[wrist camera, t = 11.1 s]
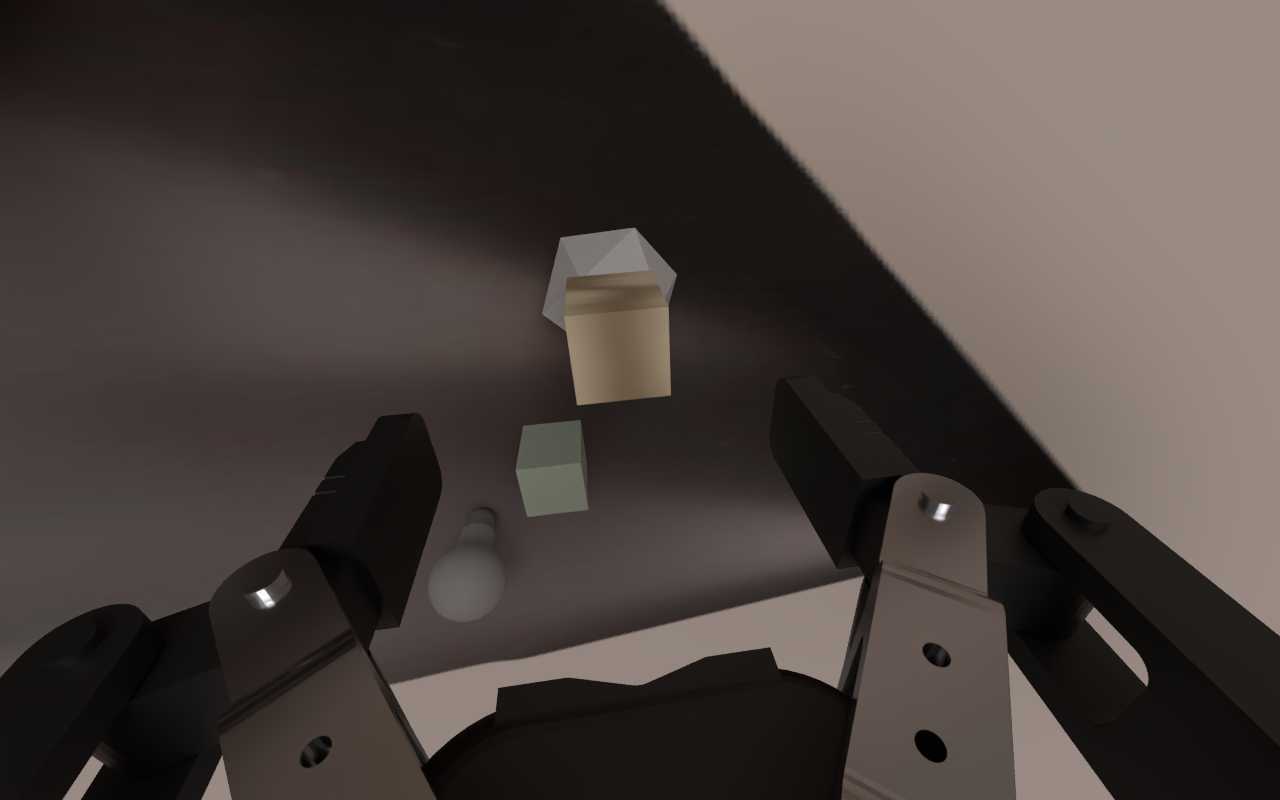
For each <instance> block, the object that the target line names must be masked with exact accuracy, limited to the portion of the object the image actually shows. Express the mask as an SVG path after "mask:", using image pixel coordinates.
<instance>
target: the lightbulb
mask: <svg viewBox="0 0 1280 800" xmlns="http://www.w3.org/2000/svg"><path fill="white" fill-rule="evenodd" d="M495 525H496V517H495V515H494V514H493V513H492V512H491V511H489V510H487V509H477V510H475V511H473V512H472V513H471V514H470V515H469V517H468V520H467V523H466V526H465V527H464V528H463V530H462V531H461V534H460V537H459V539H458V540H457V542H456V543H455V545H454V546H453V547H451V548H450V549H449V550H448V551H447V552H445V553H444V554H443V555H442V556H441V557H440V558H439V559H438V560H437V562H436V563H435V565H434V566H433V568H432V570H431V573H430V576H429V579H428V596H429V599H430V602H431V604H432V606H433V607H434V609H435V610H436V611H437V612H438V613H439V614H440V615H441V616H443V617H444V618H446V619H449V620H451V621H455V622H469V621H474V620H477V619H480V618H481V617H483V616H485V615H486V614H488V613H489V612H490V611H491V610H492V609H493V608H494V607H495V606H496V605H497V604H498V602H499V601H500V599H501V597H502V595H503V592H504V590H505V585H506V572H505V567H504V565H503V563H502V560H501V558H500V556H499V554H498V553H497V550H496V533H495Z"/></svg>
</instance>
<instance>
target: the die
mask: <svg viewBox="0 0 1280 800" xmlns="http://www.w3.org/2000/svg"><path fill="white" fill-rule="evenodd" d="M646 270H653V273H654V275H655V277H656V279H657V282H658V284H659V286H660V289H661V291H662V293H663V296H664V298H665V300H666V302H667V305H669V301H670V297H671V294H672V290H673V287H674V283H675V279H676V276H677V274H676V273H675V272H674V271H673V270H672V269H671V268H670V266H669V265H668V264H667V263H666V262H665V261H664V260H663V259H662V258H661V256H660V255H659V254H658V253H657V252H656V251H655V250H654V249H653V248H652V246H651V245H650V244H649V243H648V242H647V241H646V240H645V239H644V238H643V236H642V235H641V234H640V233H639V232H638V231H637V230H636V229H635V228H629V229H622V230H614V231H607V232H599V233H592V234H584V235H577V236H569V237H562V238H560V242H559V246H558V250H557V255H556V259H555V263H554V267H553V271H552V275H551V279H550V283H549V287H548V292H547V296H546V300H545V304H544V308H543V312H542V315H544V316H545V317H547V318H548V319H549V320H551V321H552V322H554V323H555V324H556V325H558V326H559V327H561V328H562V329H563V330H565V331H566V326H565V319H564V311H565V296H566V281H567V277H578V276H589V275H601V274H612V273H623V272H635V271H646Z"/></svg>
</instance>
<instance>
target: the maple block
mask: <svg viewBox="0 0 1280 800" xmlns="http://www.w3.org/2000/svg"><path fill="white" fill-rule="evenodd" d="M564 319H565V326H566V333H567V339H568V346H569V353H570V360H571V366H572V373H573V380H574V387H575V393H576V400H577V405H584V404H594V403H603V402H613V401H623V400H632V399H642V398H651V397H661V396H670V395H671V385H670V347H669V309H668V305H667V302H666V300H665V298H664V296H663V293H662V291H661V289H660V286H659V284H658V282H657V279H656V277H655V275H654V273H653V270H646V271H635V272H623V273H612V274H601V275H589V276H578V277H567V281H566V296H565V311H564Z"/></svg>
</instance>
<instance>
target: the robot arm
mask: <svg viewBox="0 0 1280 800" xmlns="http://www.w3.org/2000/svg"><path fill="white" fill-rule="evenodd" d="M881 431H882V430H881V429H880V428H879V427H878V426H877V425H876V424H875V423H874V422H871V419H870V418H869V417H868V415H867V414H866V413H865V412H864V411H863V410H862V409H861V408H860V407H859V406H858V405H857V404H855V403H853V402H852V401H850V400H848V399H846V398H845V397H843V396H841V395H839V394H831V393H830V392H829V391H828V390H827V389H826V388H825V387H824V385H823V384H822V383H821V382H820V381H819V380H818V379H817V378H816V377H815V376H814V375H804V376H794V377H784V378H780V379H779V380H778V381H777V384H776V388H775V396H774V403H773V411H772V418H771V426H770V446H771V451H772V454H773V457H774V459H775V461H776V462H777V464H778V466H779V468H780V469H781V471H782V473H783V475H784V476H785V478H786V480H787V482H788V483H789V485H790V487H791V489H792V490H793V492H794V494H795V496H796V497H797V499H798V501H799V503H800V504H801V506H802V508H803V510H804V511H805V513H806V515H807V517H808V518H809V520H810V522H811V524H812V525H813V527H814V529H815V531H816V532H817V534H818V536H819V538H820V539H821V541H822V543H823V545H824V546H825V548H826V550H827V552H828V553H829V555H830V557H831V559H832V560H833V562H834V564H835V566H836V567H837V569H842V568H849V567H856V566H859V567H860V569H861V570H862V572H863V574H864V575H865V576H864V579H863V582H862V585H861V589H860V593H859V598H858V603H857V607H856V612H855V616H854V620H853V625H852V629H851V634H850V638H849V643H848V647H847V652H846V657H845V661H844V665H843V669H842V673H841V676H840V680H839V683H838V687H837V689H836V688H834V687H832V686H830V685H828V684H826V683H824V682H822V681H820V680H817V679H815V678H812V677H810V676H807V675H804V674H800V673H796V672H792V671H788V670H782V669H778V667H777V665H776V662H775V659H774V656H773V654H772V651H771V648H770V647H769V648H763V649H756V650H749V651H742V652H736V653H729V654H722V655H716V656H709V657H705V658H703V659H700V660H698V661H696V662H693V663H691V664H689V665H687V666H685V667H683V668H680V669H678V670H676V671H673V672H671V673H669V674H667V675H664V676H662V677H660V678H658V679H655V680H653V681H651V682H649V683H646V684H643V685H638V686H637V685H636V686H635V685H625V684H617V683H608V682H600V681H592V680H584V679H575V678H562V679H556V680H548V681H542V682H535V683H529V684H522V685H515V686H509V687H502V688H498V696H497V705H496V712H494V713H492V714H490V715H488V716H486V717H484V718H482V719H480V720H479V721H477V722H475V723H474V724H472V725H470V726H468V727H467V728H466V729H464V730H463V731H462V732H460V733H459V734H457V735H456V736H455V737H453V738H452V739H451V740H450V741H449V742H447V743H446V744H445V745H444V746H443V747H442V748H441V749H440V750H438V751H437V752H436V753H435V754H434V755H433V756H432V757H431V758H430V759H429V758H428V756H427V754H426V753H425V751H424V749H423V747H422V746H421V744H420V742H419V740H418V738H417V737H416V735H415V733H414V731H413V729H412V728H411V726H410V724H409V722H408V720H407V718H406V716H405V714H404V713H403V711H402V709H401V707H400V705H399V703H398V701H397V699H396V697H395V696H394V694H393V692H392V690H391V688H390V686H389V684H388V682H387V680H386V678H385V677H384V675H383V673H382V671H381V669H380V667H379V665H378V663H377V662H376V660H375V658H374V656H373V654H372V652H371V651H370V649H369V646H370V643H371V641H372V638H373V635H374V632H375V630H381V629H388V628H396V627H399V626H400V623H401V620H402V617H403V614H404V610H405V607H406V604H407V601H408V598H409V594H410V591H411V588H412V585H413V582H414V578H415V575H416V572H417V569H418V566H419V562H420V559H421V556H422V553H423V550H424V547H425V543H426V540H427V537H428V534H429V531H430V527H431V524H432V521H433V518H434V515H435V511H436V508H437V505H438V502H439V499H440V495H441V489H442V477H441V471H440V467H439V464H438V461H437V458H436V455H435V452H434V449H433V446H432V443H431V440H430V437H429V434H428V431H427V428H426V425H425V422H424V420H423V418H422V416H421V415H420V414H419V413H410V414H399V415H389V416H381V417H380V418H378V420H377V421H376V423H375V425H374V427H373V428H372V430H371V432H370V433H369V435H368V437H367V439H366V440H365V441H360V442H356V443H354V444H353V445H352V446H351V447H350V448H348V449H347V450H346V451H345V452H343V453H342V454H341V455H340V456H339V457H337V458H336V460H335V461H334V463H333V464H332V466H331V468H330V469H329V471H328V472H327V474H326V475H325V480H322V482H321V483H320V485H319V487H318V488H317V490H316V491H315V493H316V495H315V496H312V498H311V499H310V501H309V502H308V504H307V506H306V507H305V509H304V510H303V512H302V513H301V515H300V517H299V518H298V520H297V521H296V523H295V525H294V526H293V528H292V529H291V531H290V533H289V534H288V536H287V537H286V539H285V540H284V542H283V544H282V545H281V547H280V548H279V550H277V551H273V552H270V553H268V554H265V555H262V556H260V557H258V558H256V559H254V560H252V561H250V562H248V563H247V564H245V565H244V566H242V567H241V568H239V569H238V570H236V571H235V572H234V573H233V574H231V575H230V576H229V577H228V578H227V579H226V580H225V581H224V582H223V583H222V584H221V585H220V586H219V588H218V589H217V590H216V592H215V593H214V595H213V597H212V599H211V601H209V602H206V603H203V604H200V605H198V606H195V607H192V608H189V609H186V610H183V611H181V612H178V613H175V614H172V615H169V616H166V617H164V618H161V619H158V620H155V621H151V620H150V619H149V618H148V617H147V616H146V615H145V614H144V613H143V612H142V611H141V610H140V609H139V608H137V607H136V606H134V605H130V604H115V605H109V606H105V607H101V608H98V609H95V610H92V611H89V612H87V613H84V614H82V615H80V616H78V617H76V618H74V619H71V620H69V621H68V622H66V623H64V624H62V625H61V626H59V627H57V628H56V629H54V630H52V631H51V632H49V633H48V634H46V635H45V636H44V637H42V638H41V639H40V640H38V641H37V642H36V643H34V644H33V645H32V646H31V647H30V648H29V649H27V650H26V651H25V652H24V653H23V654H22V655H21V656H20V657H19V658H18V659H17V660H16V661H15V662H14V663H13V665H12V666H11V667H10V668H9V669H8V670H7V671H6V672H5V673H4V674H3V675H2V677H1V678H0V800H62V799H63V797H64V796H65V795H66V793H67V792H68V790H69V789H70V787H71V786H72V784H73V783H74V781H75V780H76V778H77V777H78V775H79V774H80V772H81V771H82V769H83V768H84V766H85V765H86V763H87V762H88V760H89V759H90V757H91V756H93V757H95V758H96V759H98V760H99V761H101V762H102V763H104V764H103V766H102V767H101V769H100V771H99V772H98V774H97V775H96V777H95V778H94V780H93V782H92V783H91V785H90V786H89V788H88V789H87V791H86V793H85V794H84V796H83V797H82V799H81V800H201V799H202V797H203V795H204V793H205V790H206V788H207V786H208V784H209V782H210V780H211V778H212V775H213V773H214V771H215V769H216V767H217V765H218V763H219V760H220V759H221V756H222V755H223V760H224V764H225V770H226V774H227V779H228V784H229V788H230V793H231V798H232V800H1016V788H1015V770H1014V754H1013V736H1012V720H1011V702H1010V685H1009V668H1008V653H1009V655H1010V656H1011V658H1012V659H1013V660H1014V662H1015V663H1016V664H1017V665H1018V667H1019V669H1020V670H1021V671H1022V673H1023V674H1024V675H1025V677H1026V678H1027V680H1028V681H1029V682H1030V684H1031V685H1032V686H1033V688H1034V689H1035V691H1036V692H1037V693H1038V695H1039V696H1040V697H1041V699H1042V700H1043V701H1044V703H1045V704H1046V706H1047V707H1048V709H1049V710H1050V711H1051V713H1052V714H1053V715H1054V717H1055V718H1056V719H1057V721H1058V722H1059V724H1060V725H1061V726H1062V728H1063V729H1064V731H1065V732H1066V733H1067V735H1068V736H1069V737H1070V739H1071V740H1072V742H1073V743H1074V744H1075V745H1076V747H1077V748H1078V750H1079V751H1080V753H1081V754H1082V755H1083V757H1084V758H1085V759H1086V761H1087V762H1088V763H1089V765H1090V766H1091V768H1092V769H1093V770H1094V772H1095V773H1096V775H1097V776H1098V777H1099V779H1100V780H1101V781H1102V783H1103V784H1104V786H1105V787H1106V788H1107V790H1108V791H1109V792H1110V794H1111V795H1112V796H1113V798H1114V799H1115V800H1280V636H1279V635H1278V634H1276V633H1275V632H1274V631H1272V630H1271V629H1270V628H1269V627H1268V626H1266V625H1265V624H1264V623H1262V622H1261V621H1260V620H1258V619H1257V618H1256V617H1255V616H1254V615H1253V614H1251V613H1250V612H1249V611H1248V610H1246V609H1245V608H1244V607H1243V606H1241V605H1240V604H1239V603H1237V602H1236V601H1235V600H1234V599H1233V598H1231V597H1230V596H1229V595H1228V594H1226V593H1225V592H1224V591H1223V590H1221V589H1220V588H1219V587H1218V586H1216V585H1215V584H1214V583H1213V582H1211V581H1210V580H1209V579H1208V578H1206V577H1205V576H1204V575H1202V574H1201V573H1200V572H1199V571H1198V570H1196V569H1195V568H1194V567H1193V566H1191V565H1190V564H1189V563H1188V562H1186V561H1185V560H1184V559H1183V558H1181V557H1180V556H1179V555H1178V554H1176V553H1175V552H1174V551H1173V550H1171V549H1170V548H1169V547H1168V546H1166V545H1165V544H1164V543H1163V542H1161V541H1160V540H1159V539H1158V538H1156V537H1155V536H1154V535H1153V534H1151V533H1150V532H1149V531H1148V530H1146V529H1145V528H1144V527H1143V526H1141V525H1140V524H1139V523H1138V522H1136V521H1135V520H1134V519H1133V518H1131V517H1130V516H1129V515H1128V514H1126V513H1125V512H1124V511H1122V510H1121V509H1119V508H1118V507H1116V506H1114V505H1112V504H1111V503H1109V502H1107V501H1105V500H1103V499H1101V498H1098V497H1096V496H1093V495H1090V494H1088V493H1084V492H1081V491H1077V490H1072V489H1064V488H1051V489H1046V490H1043V491H1041V492H1039V493H1038V494H1037V495H1036V497H1035V499H1034V500H1033V502H1032V504H1031V506H1030V508H1029V509H1020V508H1011V507H1003V506H994V505H986V504H982V503H981V501H980V500H979V499H978V498H977V497H976V496H975V494H973V493H972V492H971V491H970V490H969V489H967V488H965V487H964V486H962V485H961V484H959V483H957V482H955V481H953V480H950V479H948V478H945V477H942V476H938V475H933V474H927V473H921V472H920V471H919V470H918V469H917V468H916V467H915V466H914V465H913V463H912V462H911V461H910V460H909V459H908V458H907V457H906V456H905V455H904V454H903V453H902V452H901V451H900V450H899V449H898V447H897V446H896V445H895V444H894V443H893V442H892V441H891V440H890V439H889V438H888V437H887V436H886V435H885V434H882V432H881ZM1094 607H1095V608H1096V609H1097V610H1098V611H1099V612H1100V613H1101V614H1102V615H1103V616H1104V618H1105V619H1107V621H1108V622H1109V623H1110V624H1111V625H1112V626H1113V627H1114V628H1115V629H1116V630H1117V631H1118V632H1119V633H1120V634H1121V635H1122V636H1123V637H1124V638H1125V639H1126V640H1127V641H1128V643H1129V644H1130V645H1131V646H1132V647H1133V648H1134V649H1135V650H1136V651H1137V652H1138V654H1139V655H1140V657H1141V658H1142V660H1143V662H1144V664H1145V666H1146V668H1147V672H1148V677H1149V680H1148V686H1146V685H1145V684H1144V683H1143V682H1142V681H1141V680H1140V679H1139V678H1138V677H1137V676H1136V674H1135V673H1134V672H1133V671H1132V670H1131V669H1130V668H1129V667H1128V666H1127V665H1126V664H1125V662H1123V660H1122V659H1121V658H1120V657H1119V656H1118V655H1117V654H1116V653H1115V652H1114V651H1113V650H1112V648H1111V647H1110V646H1109V645H1108V644H1107V643H1106V642H1105V641H1104V640H1103V639H1102V637H1101V636H1100V635H1099V634H1098V633H1097V632H1096V631H1095V630H1094V629H1093V628H1092V627H1091V625H1090V624H1089V623H1087V621H1086V620H1085V618H1086V617H1087V615H1088V614H1089V613H1090V612H1091V610H1092V609H1093V608H1094Z"/></svg>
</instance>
